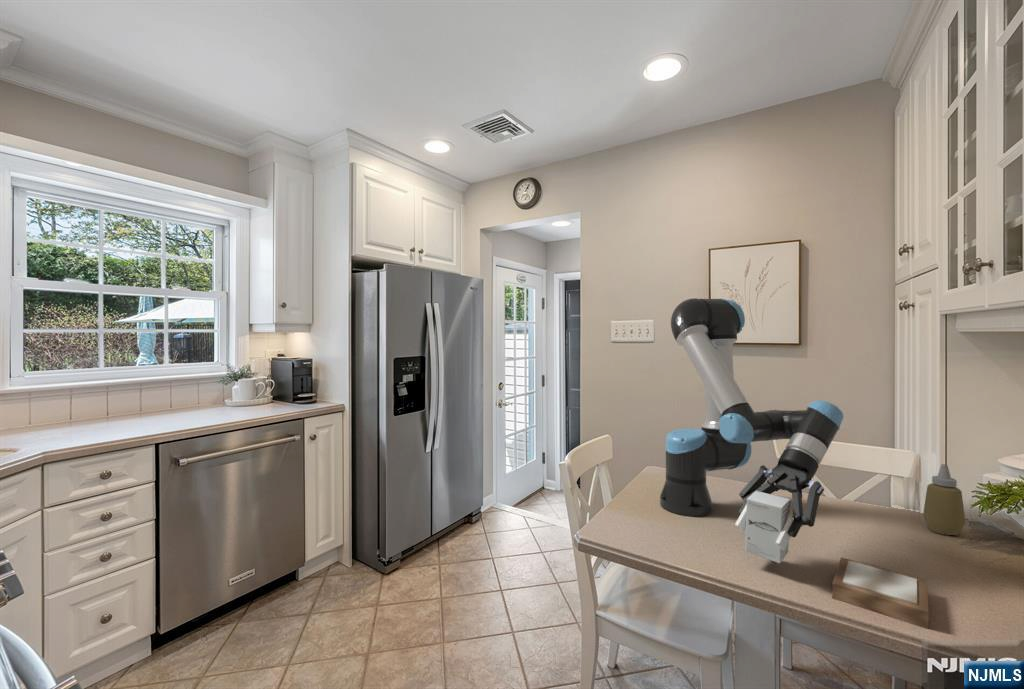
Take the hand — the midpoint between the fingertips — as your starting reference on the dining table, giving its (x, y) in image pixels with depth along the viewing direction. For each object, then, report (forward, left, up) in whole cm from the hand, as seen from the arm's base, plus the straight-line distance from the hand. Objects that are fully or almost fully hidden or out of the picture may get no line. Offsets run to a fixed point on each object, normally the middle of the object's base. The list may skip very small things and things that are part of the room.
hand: (758, 537), depth 99 cm
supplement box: (+1, +3, -5) cm, 6 cm away
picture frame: (+21, +5, -8) cm, 23 cm away
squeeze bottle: (+32, +54, -8) cm, 63 cm away
